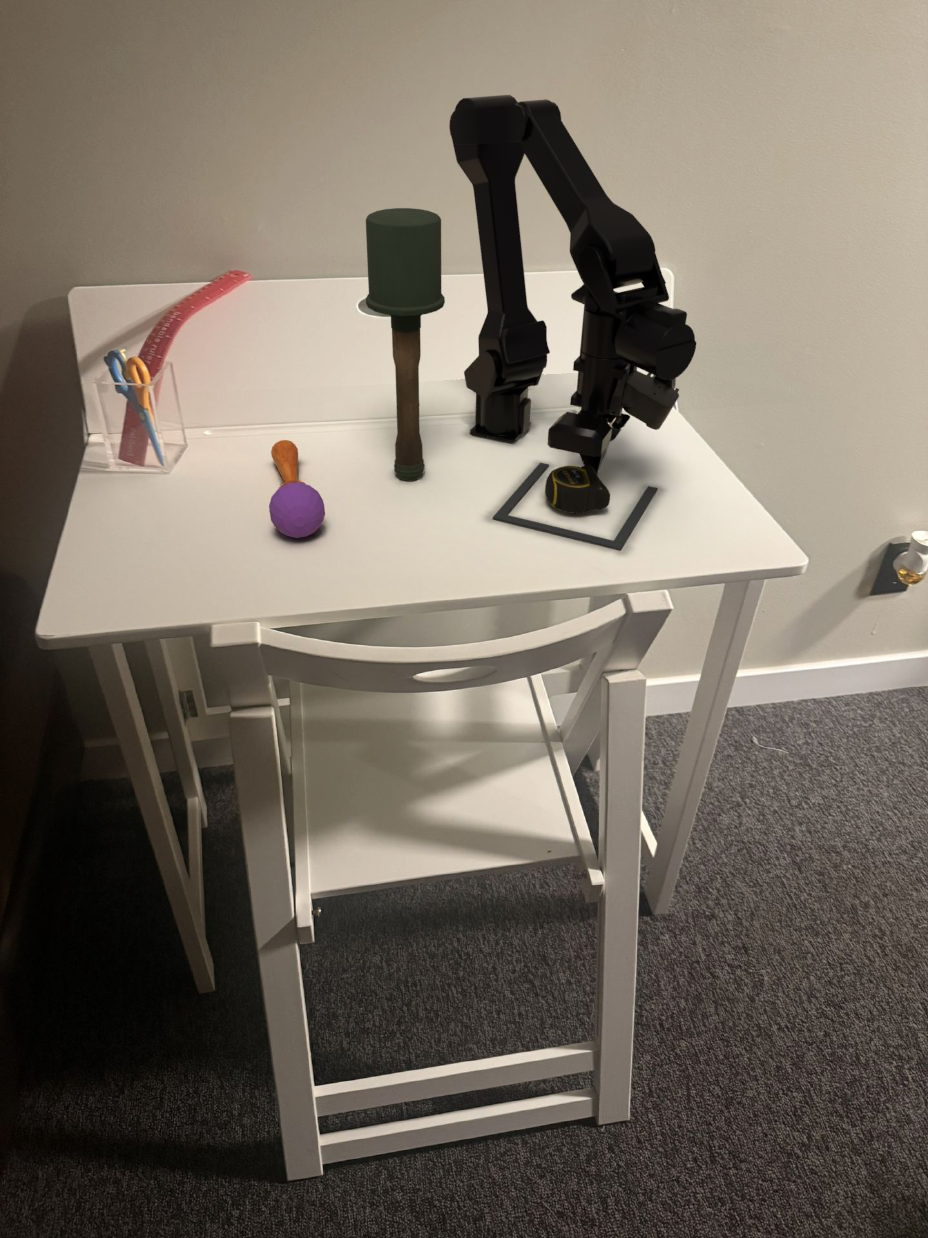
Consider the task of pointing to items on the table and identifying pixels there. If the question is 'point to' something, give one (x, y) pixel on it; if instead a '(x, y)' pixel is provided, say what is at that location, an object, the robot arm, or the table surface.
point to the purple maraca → (294, 496)
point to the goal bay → (616, 544)
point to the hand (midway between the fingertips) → (592, 475)
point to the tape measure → (576, 489)
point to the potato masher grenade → (405, 309)
